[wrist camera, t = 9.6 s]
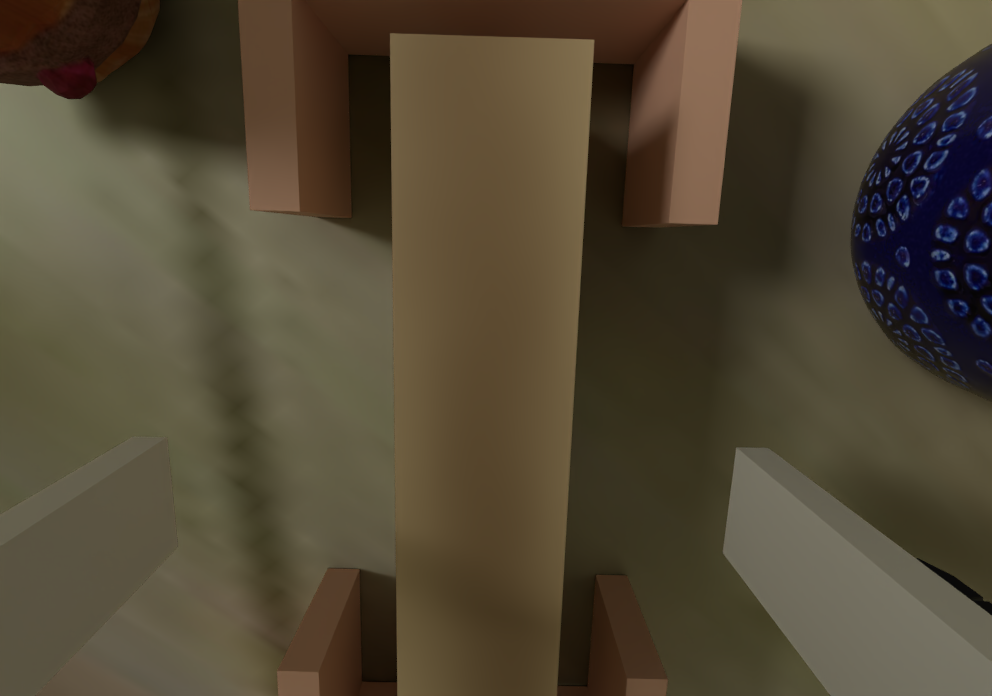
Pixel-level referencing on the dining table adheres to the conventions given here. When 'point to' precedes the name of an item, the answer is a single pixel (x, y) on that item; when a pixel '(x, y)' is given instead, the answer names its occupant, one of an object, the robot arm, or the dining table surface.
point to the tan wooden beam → (484, 352)
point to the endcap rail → (327, 193)
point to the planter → (934, 229)
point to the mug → (71, 41)
